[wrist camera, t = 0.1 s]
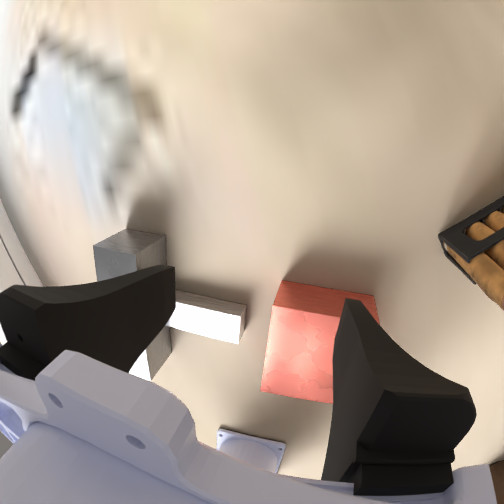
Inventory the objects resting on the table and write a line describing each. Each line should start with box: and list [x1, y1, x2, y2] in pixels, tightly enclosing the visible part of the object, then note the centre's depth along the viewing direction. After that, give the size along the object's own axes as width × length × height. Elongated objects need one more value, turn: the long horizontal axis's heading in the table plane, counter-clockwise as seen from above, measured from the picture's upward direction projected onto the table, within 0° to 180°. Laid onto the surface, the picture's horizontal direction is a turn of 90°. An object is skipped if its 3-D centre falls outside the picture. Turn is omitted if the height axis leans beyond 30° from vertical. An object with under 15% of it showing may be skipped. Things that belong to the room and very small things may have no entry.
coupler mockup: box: [93, 229, 246, 381], centre depth 23 cm, size 12×11×6 cm
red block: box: [260, 280, 379, 404], centre depth 22 cm, size 8×7×4 cm
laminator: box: [0, 199, 44, 345], centre depth 30 cm, size 34×12×6 cm, turn 32°
